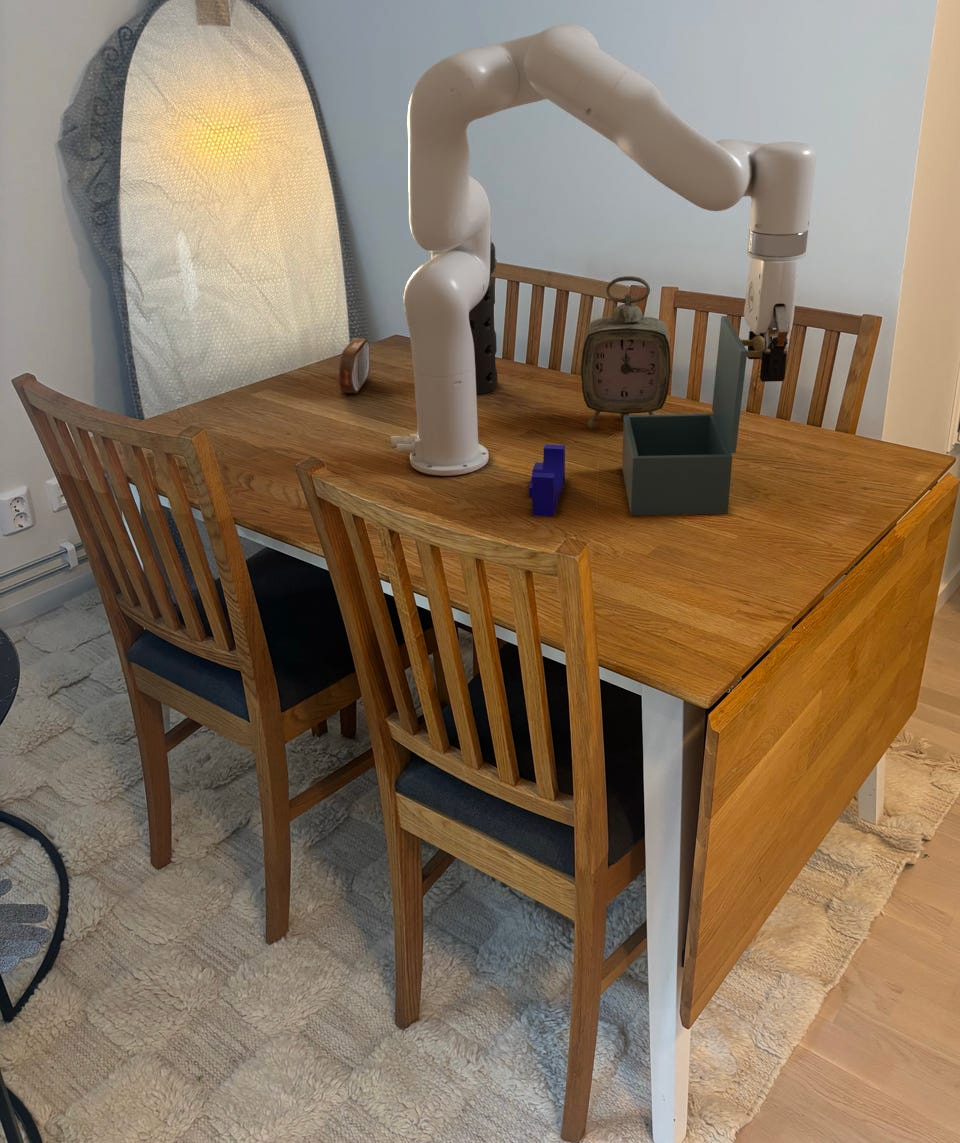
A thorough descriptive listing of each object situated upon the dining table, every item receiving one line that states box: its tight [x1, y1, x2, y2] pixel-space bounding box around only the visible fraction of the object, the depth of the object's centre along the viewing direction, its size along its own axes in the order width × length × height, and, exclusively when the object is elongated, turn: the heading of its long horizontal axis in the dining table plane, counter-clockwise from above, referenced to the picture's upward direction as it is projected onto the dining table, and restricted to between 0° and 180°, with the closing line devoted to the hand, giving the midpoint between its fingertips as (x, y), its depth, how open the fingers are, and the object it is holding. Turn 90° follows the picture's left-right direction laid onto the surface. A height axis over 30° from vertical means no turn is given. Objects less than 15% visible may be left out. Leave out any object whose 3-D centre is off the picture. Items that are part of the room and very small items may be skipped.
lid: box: [711, 315, 765, 454], centre depth 151 cm, size 14×17×5 cm
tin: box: [338, 337, 371, 394], centre depth 203 cm, size 15×3×8 cm, turn 172°
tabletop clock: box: [580, 275, 672, 429], centre depth 178 cm, size 14×9×25 cm, turn 83°
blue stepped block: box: [528, 444, 566, 517], centre depth 157 cm, size 12×4×6 cm, turn 168°
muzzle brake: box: [469, 235, 499, 396], centre depth 196 cm, size 10×28×10 cm
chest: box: [621, 413, 733, 516], centre depth 157 cm, size 14×17×9 cm
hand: (765, 369), depth 150 cm, fingers open, 9 cm apart
